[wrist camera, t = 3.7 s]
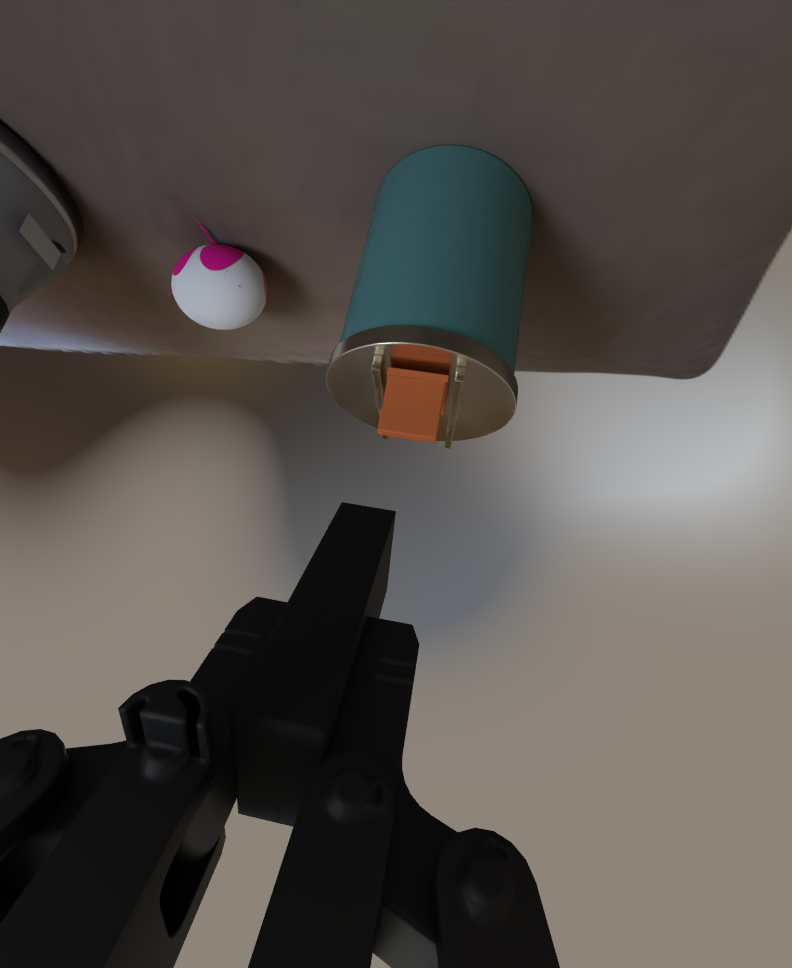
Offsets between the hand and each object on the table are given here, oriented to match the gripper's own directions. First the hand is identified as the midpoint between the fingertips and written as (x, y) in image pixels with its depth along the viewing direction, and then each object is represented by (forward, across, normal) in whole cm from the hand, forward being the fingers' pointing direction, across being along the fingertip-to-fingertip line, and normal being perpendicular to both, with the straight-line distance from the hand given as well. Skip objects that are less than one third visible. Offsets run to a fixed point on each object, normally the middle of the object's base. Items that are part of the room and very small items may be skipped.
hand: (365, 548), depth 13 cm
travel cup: (+24, 0, +9) cm, 26 cm away
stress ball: (+28, -18, +6) cm, 33 cm away
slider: (+13, 0, +1) cm, 13 cm away
